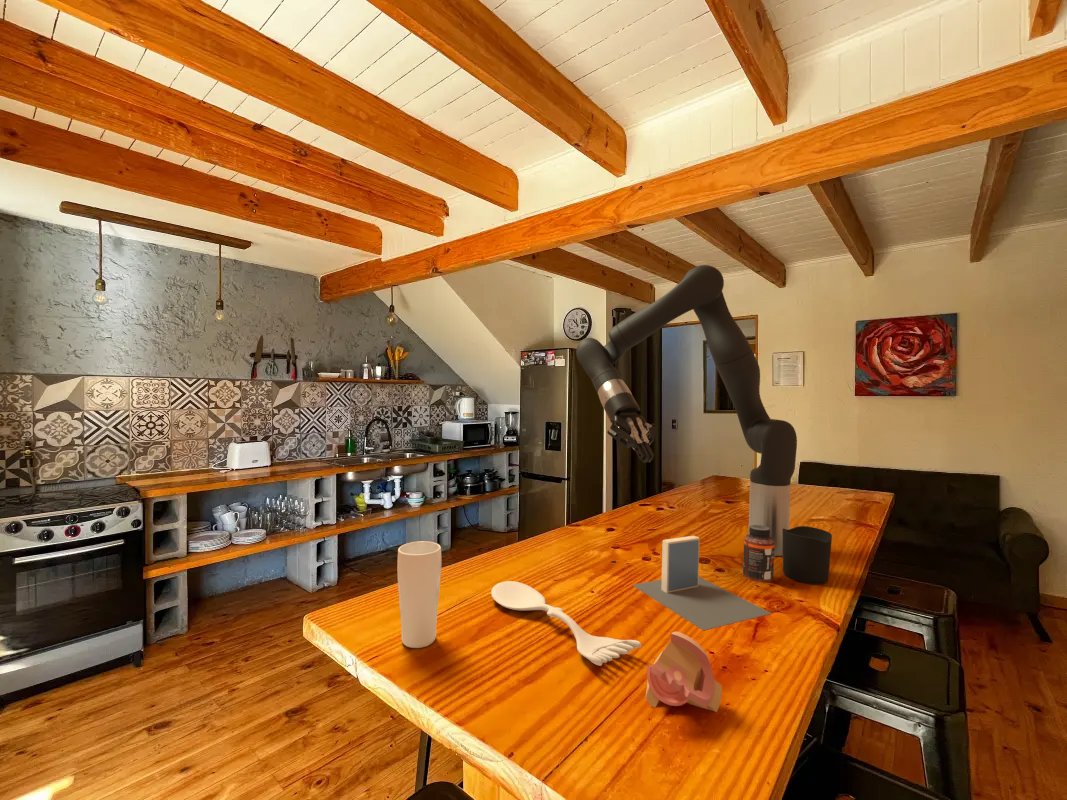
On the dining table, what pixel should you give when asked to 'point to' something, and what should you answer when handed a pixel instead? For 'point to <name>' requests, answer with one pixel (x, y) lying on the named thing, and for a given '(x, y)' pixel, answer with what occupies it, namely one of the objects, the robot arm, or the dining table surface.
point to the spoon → (587, 645)
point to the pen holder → (806, 554)
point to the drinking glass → (419, 591)
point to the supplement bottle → (758, 554)
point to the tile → (680, 563)
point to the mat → (704, 604)
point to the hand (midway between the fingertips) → (648, 459)
